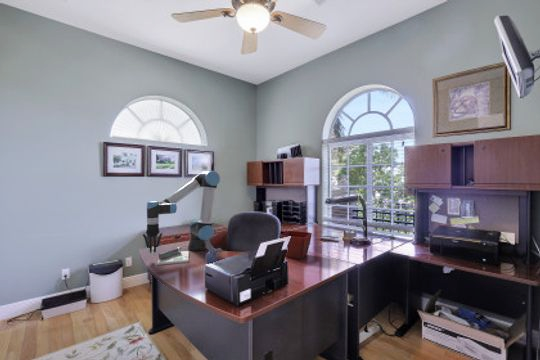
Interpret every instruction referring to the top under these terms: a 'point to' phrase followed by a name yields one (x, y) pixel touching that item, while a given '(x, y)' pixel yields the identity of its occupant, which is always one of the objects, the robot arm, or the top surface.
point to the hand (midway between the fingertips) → (152, 257)
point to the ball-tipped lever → (170, 253)
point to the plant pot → (297, 243)
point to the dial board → (175, 258)
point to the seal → (211, 251)
